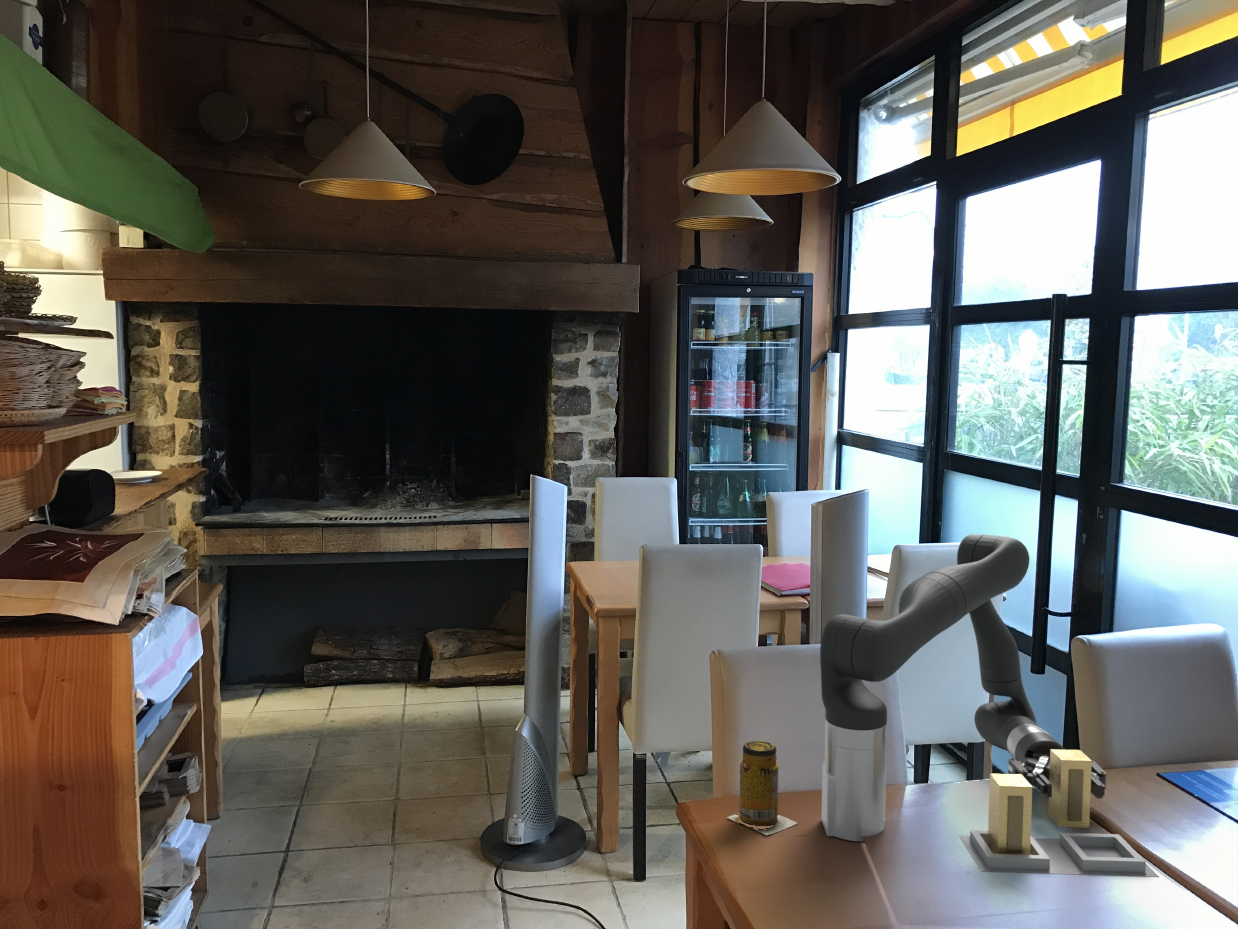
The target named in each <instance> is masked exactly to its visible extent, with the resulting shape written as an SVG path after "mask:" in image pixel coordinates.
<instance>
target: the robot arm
mask: <svg viewBox="0 0 1238 929" xmlns="http://www.w3.org/2000/svg"><path fill="white" fill-rule="evenodd" d="M1029 566H1030V555H1029V551H1028V548H1027V547H1026V545H1025V544H1024V543H1023V542H1022V541H1021V540H1019V539H1016V538H1014V537H1013V538H1012V537H1010V536H1003V535H1002V536H1001V535H991V534H980V533H975V534H973V533H972V534H968V535H966V536H965V537H963V539H962V540H961V541H960V543H959V545H958V549H957V554H956V564H955V565H950V566H945V567H941V568H936V569H933V570H931V571H929V572H927V573H925V574H923V575H922V576H919V577H918V578H916V579H915V580H913V581H912V582H911V583H910V584H908V585H907V586H906V587H905V588H904V589H903V590H902V593H901V595H900V598H899V601H898V614H897V615H895V616H893V617H891V618H889V619H886V620H876V619H871V618H866V617H861V616H855V615H850V614H842V613H841V614H837V615H834V616H832V617H831V618H830V619H829V620H828V621H827V623H826V624H825V626H824V629H823V630H822V631H823V632H822V634H821V640H820V646H819V647H820V648H819V657H820V658H819V660H820V661H819V662H820V684H821V685H820V687H821V701H822V704H823V707H824V710H825V711H824V712H825V713H824V715H825V727H824V735H825V736H824V760H823V761H822V764H821V765H822V766H821V767H822V768H821V776H822V777H821V822H822V825H823V828H824V831H825V835H826V836H827V837H835V838H838V839H842V840H845V841H851V842H852V841H853V842H865V838H864V837H871V836H872V837H873V836H875V835H879V834H881V833H882V832H883V831H885V827H886V792H887V791H886V790H887V789H886V787H887V786H886V782H887V779H886V777H887V773H886V772H887V737H888V736H887V734H888V733H887V732H888V707H887V705H886V704H885V702H884V701H883V700H882V699H881V698H880V697H878V696H876V695H875V694H874V693H873V692H872V691H871V690H870V689H868V688H867V686H866V684H865V683H864V682H863V681H865V682H871V683H878V682H879V683H880V682H883V681H885V680H887V679H888V678H890V677H891V676H893V675H895V673H896V672H897V671H898V670H899V669H901V667H903V665H904V664H905V663H907V661H908V660H910V659H911V657H912V656H914V655H915V654H916V653H917V652H918V651H919V650H920V649H921V648H923V647H924V646H925V645H926V644H927V643H929V642H930V641H932V640H933V639H934V638H935V637H937V636H938V635H940V634H942V633H943V632H945V631H947V629H950V628H951V627H952V626H953V625H955V624H957V622H959V621H960V620H962V619H963V618H964V617H965V616H966V615H969V617H970V620H971V625H972V627H973V633H974V636H975V640H976V645H977V653H978V663H979V672H980V673H979V674H980V680H981V681H980V682H981V686H982V689H983V690H984V692H986V693H988V694H991V695H992V696H999V697H1006V698H1007V697H1009V698H1010V699H1008V700H1002V701H1000V700H999V701H995V702H987V703H983V704H981V705H979V706H978V708H977V709H976V711H975V713H974V726H975V728H976V730H977V732H978V734H979V735H980V737H981V738H982V739H983V740H985V741H986V743H988V744H990V745H992V746H995V747H996V748H998V749H1001V750H1004V751H1007V753H1008V754H1009V755H1010V756H1011V757H1010V758H1008V761H1007V763H1008V766H1007V769H1008V770H1007V774H1022V776H1023V777H1024V778H1025V779H1026V780H1027V781H1028V782H1029V784H1030V785H1031V786H1032V789H1036V790H1037V791H1038V792H1039V793H1040V794H1042V795H1044V797H1045V798H1049V797H1052V784H1051V783H1050V782H1049V779H1050V749H1059V750H1066V749H1065V747H1063V745H1061V743H1059V742H1058V741H1057V740H1056V739H1055V738H1054V737H1053V736H1052V735H1051V734H1050V733H1049V732H1047V731H1046V730H1044V729H1043V728H1041V727H1040V726H1039V725H1038V724H1037V720H1036V719H1037V718H1036V716H1035V713H1034V711H1033V709H1032V708H1033V707H1032V706H1031V704H1030V702H1029V700H1028V697H1027V694H1026V691H1025V688H1024V684H1023V679H1022V672H1021V662H1020V652H1019V647H1018V645H1017V642H1016V640H1015V638H1014V636H1013V635H1012V633H1011V632H1010V629H1009V628H1008V626H1007V625H1006V624H1005V622H1004V621H1003V619H1002V617H1001V616H1000V615H999V613H998V612H997V610H996V608H995V606H994V604H993V601H992V599H993V598H996V597H997V596H1000V595H1003V594H1004V593H1006V592H1008V591H1011V590H1012V589H1014V588H1016V587H1017V586H1018V585H1019V584H1020V583H1021V582H1023V580H1024V579H1025V577H1026V574H1027V573H1028V569H1029ZM1090 760H1091V761H1092V765H1091V793H1090V794H1092V795H1093V797H1095V798H1096V799H1099V800H1100V799H1101V800H1103V798H1104V796H1105V795H1106V794H1105V789H1107V783H1106V782H1107V772H1106V771H1105V770H1104V769H1103V768H1102V767H1101V766H1100V765H1099V764H1098V763H1097V762H1096V761H1095V760H1092V759H1090Z"/></svg>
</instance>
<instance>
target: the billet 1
mask: <svg viewBox="0 0 1238 929" xmlns="http://www.w3.org/2000/svg"><path fill="white" fill-rule="evenodd" d="M988 792H989V795H988V827H987V831H988V847H989V849H990V850H991V852H992V853H993V854H1015V855H1030V844H1031V835H1032V812H1033V811H1032V809H1033V808H1032V807H1033V806H1032V804H1033V787H1032V785H1030V784H1029V782H1028V781H1027V780H1026V779H1025V778H1024V777H1023V776H1022V774H1008V773H989V790H988Z"/></svg>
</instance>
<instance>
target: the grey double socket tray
mask: <svg viewBox="0 0 1238 929" xmlns="http://www.w3.org/2000/svg"><path fill="white" fill-rule="evenodd" d="M969 832H970V833H969V835H959V838H960V840H961V842H962V843H963V845H964V846H965V848H966V850H967V852H968V853H969V855H970V856H971V858H972V859H973V861H974V862H975V864H976V865H977V868H978V869H979V870H980V872H982V873H987V872H988V873H1012V874H1013V873H1014V874H1015V873H1016V874H1047V875H1049V874H1050V875H1078V876H1079V875H1080V876H1081V875H1082V876H1109V877H1139V878H1140V877H1143V878H1146V877H1147V878H1159V877H1160V876H1159V875H1158V874H1157V873H1156V872H1155V871H1154V870H1153V869H1152V868H1151V867H1150V866H1149V865H1148V864H1147V862H1146V860H1145V859H1144V858H1143V857H1142V856H1141V855H1140V854H1139V853H1138V852H1137V851H1136V850H1135V849H1134V848H1133V847H1132V846H1131V845H1130V844H1129V843H1128V842H1127V841H1126V839H1124V838H1123V837H1122V836H1121V835H1120V834H1118V833H1090V832H1089V833H1084V832H1083V833H1082V832H1081V833H1080V832H1059V838H1050V837H1049V838H1048V837H1047V838H1046V837H1043V838H1041V837H1033V835H1032V834H1031V844H1030V855H1015V854H993V853H992V852H991V850H990V849H989V847H988V830H977V829H975V830H974V829H971V830H969Z"/></svg>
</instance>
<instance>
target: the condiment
mask: <svg viewBox="0 0 1238 929" xmlns="http://www.w3.org/2000/svg"><path fill="white" fill-rule="evenodd" d="M777 750H778V749H777V747H776V745H775V744H773V743H771V742H768V741H763V740H753V741H748V742H745V744H743V746H742V760H741V761H740V765H739V807H738V808H739V813H740V819H741V820H742V822H744V823H746V824H749V825H755V826H771V825H773V826H772V827H770V828H765V829H766V830H764V829H758V830H756V832H757V833H762V834H763V835H765V836H769V835H774V834H776V833H779V832H781V831H783V830H787V828H790V827H793V826H795V825H797V824H798V822H796V821H795V820H791V819H789V818H788V817H785V816H783V815H781V814H779V812H778V811H779V763H778V762H777V758H778V756H777ZM736 814H737V813H735V814H731V815H730V816H727V817H726V818H727V819H729V820H731V821H733V822H734V823H737V824H739V823H738V822H736V821H735V820H736V819H734V818H737V817H739V816H738V815H736ZM777 818H778V819H777ZM737 821H739V820H737ZM778 821H779V822H780V823H779V822H778ZM778 823H779V824H778ZM748 828H750V829H751V830H753V831H755V830H754V828H753V827H748Z"/></svg>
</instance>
